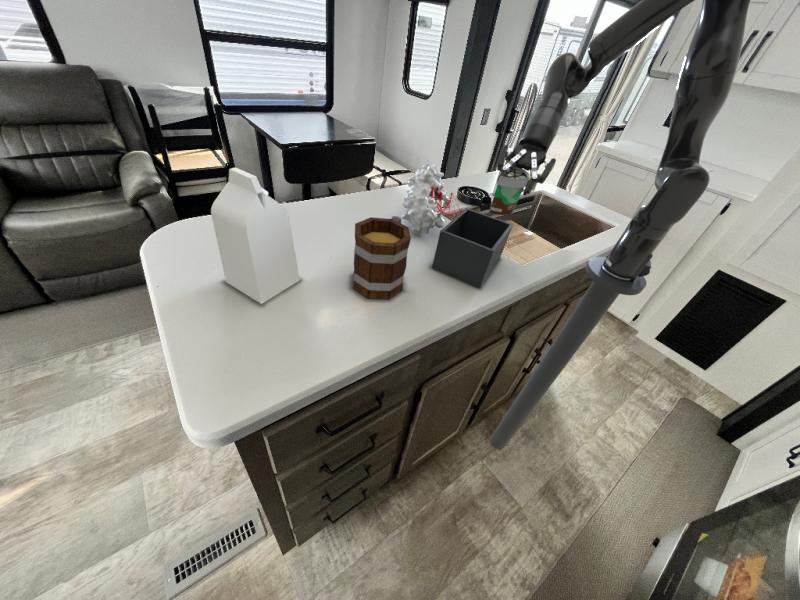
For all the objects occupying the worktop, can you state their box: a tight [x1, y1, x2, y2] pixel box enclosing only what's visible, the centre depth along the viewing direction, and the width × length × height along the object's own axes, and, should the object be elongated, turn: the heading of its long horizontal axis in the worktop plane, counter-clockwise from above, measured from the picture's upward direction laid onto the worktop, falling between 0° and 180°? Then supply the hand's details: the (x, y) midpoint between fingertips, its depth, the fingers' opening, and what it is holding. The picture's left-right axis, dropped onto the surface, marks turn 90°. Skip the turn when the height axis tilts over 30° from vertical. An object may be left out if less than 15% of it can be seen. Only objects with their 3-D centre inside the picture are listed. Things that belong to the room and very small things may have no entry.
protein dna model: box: [400, 162, 463, 236], centre depth 106 cm, size 20×18×25 cm
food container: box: [489, 167, 530, 216], centre depth 84 cm, size 12×6×10 cm, turn 148°
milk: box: [210, 167, 301, 305], centre depth 69 cm, size 12×12×26 cm
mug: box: [352, 215, 412, 300], centre depth 80 cm, size 20×14×15 cm
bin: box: [431, 207, 514, 289], centre depth 91 cm, size 15×19×12 cm
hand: (511, 189), depth 82 cm, fingers closed on food container, 6 cm apart
